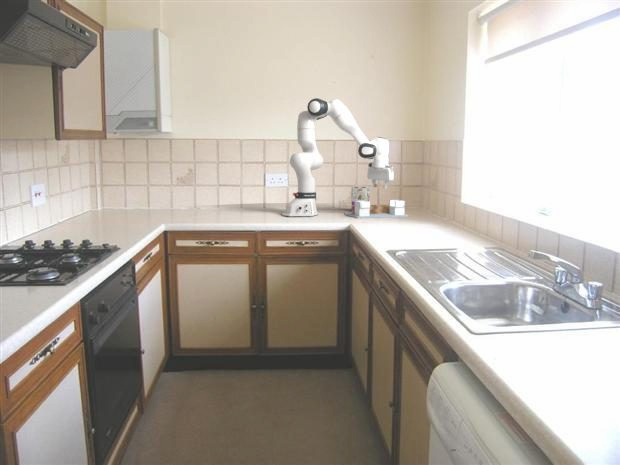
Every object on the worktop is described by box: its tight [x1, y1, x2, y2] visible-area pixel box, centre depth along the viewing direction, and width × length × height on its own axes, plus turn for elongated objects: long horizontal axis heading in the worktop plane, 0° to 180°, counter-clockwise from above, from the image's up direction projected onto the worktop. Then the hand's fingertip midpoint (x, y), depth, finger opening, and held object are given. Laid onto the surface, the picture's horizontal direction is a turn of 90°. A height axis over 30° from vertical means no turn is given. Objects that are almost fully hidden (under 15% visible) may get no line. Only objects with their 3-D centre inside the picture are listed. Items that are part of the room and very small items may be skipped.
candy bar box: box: [351, 186, 371, 213], centre depth 350 cm, size 11×5×16 cm, turn 73°
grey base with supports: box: [343, 199, 409, 219], centre depth 329 cm, size 34×20×10 cm, turn 109°
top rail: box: [352, 204, 390, 214], centre depth 333 cm, size 26×4×5 cm, turn 113°
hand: (379, 187), depth 323 cm, fingers open, 8 cm apart
